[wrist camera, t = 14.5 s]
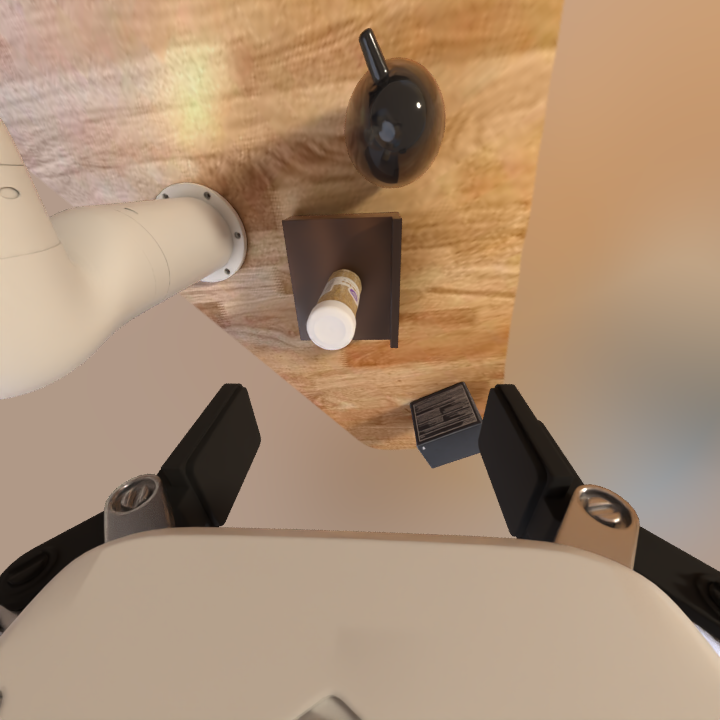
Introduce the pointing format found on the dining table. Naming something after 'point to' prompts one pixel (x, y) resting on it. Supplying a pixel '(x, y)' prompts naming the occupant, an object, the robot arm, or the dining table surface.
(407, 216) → the dining table surface
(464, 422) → the small box
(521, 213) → the dining table surface
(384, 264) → the shelf
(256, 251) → the dining table surface
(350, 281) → the sprinkles bottle
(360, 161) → the pump dispenser
